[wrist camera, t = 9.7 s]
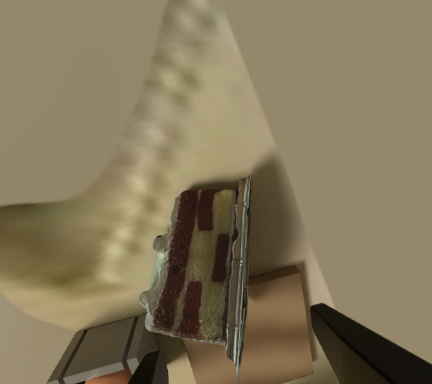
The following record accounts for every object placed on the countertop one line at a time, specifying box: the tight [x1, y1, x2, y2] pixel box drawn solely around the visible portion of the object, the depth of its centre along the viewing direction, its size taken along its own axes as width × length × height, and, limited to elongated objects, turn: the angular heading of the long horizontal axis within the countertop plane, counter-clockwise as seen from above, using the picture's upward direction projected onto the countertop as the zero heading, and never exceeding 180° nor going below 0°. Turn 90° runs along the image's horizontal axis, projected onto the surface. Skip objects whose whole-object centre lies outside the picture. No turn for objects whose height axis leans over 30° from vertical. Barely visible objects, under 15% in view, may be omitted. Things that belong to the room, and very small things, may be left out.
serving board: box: [183, 266, 314, 384], centre depth 20 cm, size 12×11×1 cm
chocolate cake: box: [138, 174, 252, 382], centre depth 16 cm, size 10×7×12 cm
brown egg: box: [85, 362, 132, 384], centre depth 17 cm, size 4×4×4 cm
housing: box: [47, 313, 159, 384], centre depth 18 cm, size 6×6×4 cm
